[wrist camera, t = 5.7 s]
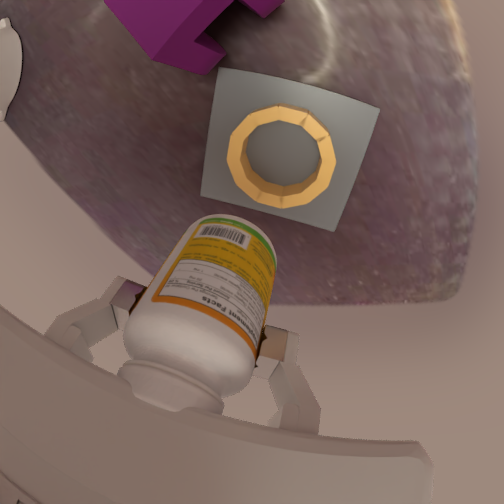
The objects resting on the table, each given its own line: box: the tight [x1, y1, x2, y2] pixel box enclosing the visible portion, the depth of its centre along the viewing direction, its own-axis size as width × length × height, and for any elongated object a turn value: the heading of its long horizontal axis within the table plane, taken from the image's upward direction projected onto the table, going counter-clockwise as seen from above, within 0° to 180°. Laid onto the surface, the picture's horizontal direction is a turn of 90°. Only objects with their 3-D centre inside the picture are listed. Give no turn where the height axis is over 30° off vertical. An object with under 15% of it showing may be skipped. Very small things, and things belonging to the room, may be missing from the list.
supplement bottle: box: [117, 214, 277, 415], centre depth 12 cm, size 5×5×10 cm
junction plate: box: [200, 67, 380, 232], centre depth 25 cm, size 15×14×4 cm
